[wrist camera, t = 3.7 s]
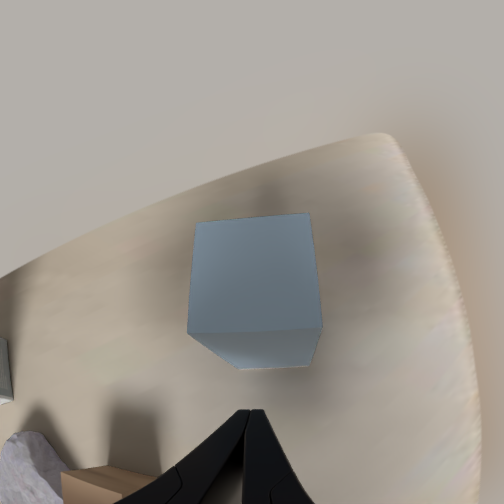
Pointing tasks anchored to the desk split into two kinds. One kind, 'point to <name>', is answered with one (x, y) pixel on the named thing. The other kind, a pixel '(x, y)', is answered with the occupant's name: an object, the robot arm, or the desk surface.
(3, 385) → the hard drive box
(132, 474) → the walnut block
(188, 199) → the desk surface
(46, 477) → the stone block
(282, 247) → the slate block
